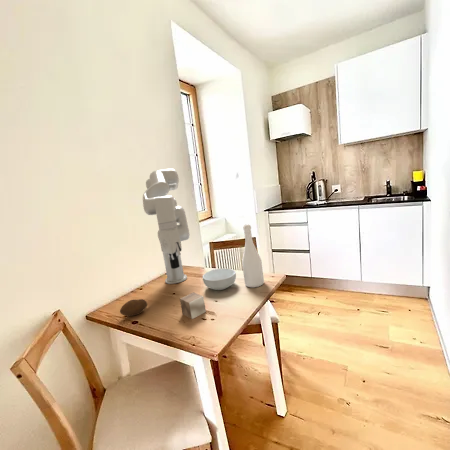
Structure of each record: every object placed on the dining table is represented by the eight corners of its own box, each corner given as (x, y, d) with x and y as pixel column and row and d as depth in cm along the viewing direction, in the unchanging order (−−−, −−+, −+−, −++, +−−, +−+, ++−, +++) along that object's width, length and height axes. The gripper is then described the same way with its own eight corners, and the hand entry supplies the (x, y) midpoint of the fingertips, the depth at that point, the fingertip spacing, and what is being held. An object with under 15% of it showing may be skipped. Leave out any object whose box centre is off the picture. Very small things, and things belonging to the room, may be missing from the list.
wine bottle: (262, 279, 132) (255, 222, 127) (265, 286, 123) (258, 225, 118) (244, 281, 132) (236, 224, 127) (246, 289, 123) (237, 228, 118)
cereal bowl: (223, 296, 118) (221, 282, 117) (197, 291, 129) (195, 278, 128) (243, 282, 132) (241, 269, 130) (218, 278, 142) (216, 266, 141)
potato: (151, 311, 114) (148, 296, 113) (125, 322, 107) (122, 307, 106) (144, 307, 120) (142, 293, 119) (120, 317, 112) (116, 303, 111)
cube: (179, 298, 106) (189, 302, 101) (193, 292, 111) (203, 296, 106) (182, 314, 107) (192, 319, 102) (196, 307, 112) (205, 311, 107)
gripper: (151, 227, 111) (159, 268, 114) (168, 228, 100) (177, 273, 102) (167, 223, 116) (174, 262, 118) (185, 224, 104) (192, 267, 107)
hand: (175, 267), depth 110 cm, fingers closed
